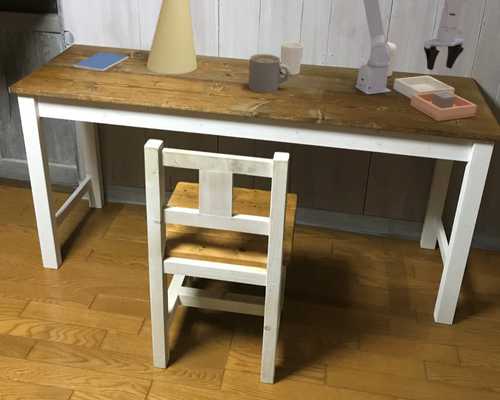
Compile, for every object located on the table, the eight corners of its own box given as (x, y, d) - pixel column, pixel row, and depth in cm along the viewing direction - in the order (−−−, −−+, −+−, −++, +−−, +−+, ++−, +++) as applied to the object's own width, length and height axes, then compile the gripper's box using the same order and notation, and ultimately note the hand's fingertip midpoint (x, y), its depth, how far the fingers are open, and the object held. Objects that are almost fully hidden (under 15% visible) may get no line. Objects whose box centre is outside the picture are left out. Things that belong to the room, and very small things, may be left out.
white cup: (277, 68, 209) (279, 41, 204) (298, 69, 210) (301, 42, 205) (280, 75, 202) (282, 47, 197) (302, 75, 203) (305, 48, 198)
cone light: (190, 76, 197) (189, -31, 179) (140, 71, 199) (134, -35, 181) (205, 56, 218) (205, -41, 201) (159, 52, 220) (155, -45, 202)
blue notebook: (100, 54, 216) (100, 51, 216) (130, 58, 213) (129, 55, 213) (72, 68, 200) (71, 64, 200) (103, 73, 197) (103, 69, 197)
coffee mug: (244, 90, 187) (246, 60, 182) (253, 81, 195) (254, 52, 190) (284, 95, 184) (286, 65, 179) (290, 86, 192) (293, 57, 187)
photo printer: (385, 72, 210) (390, 39, 204) (393, 76, 207) (399, 42, 201) (364, 76, 205) (369, 42, 199) (373, 80, 202) (378, 45, 196)
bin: (438, 121, 170) (440, 110, 169) (410, 104, 182) (412, 94, 180) (474, 116, 175) (477, 105, 174) (444, 100, 186) (447, 90, 185)
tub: (418, 102, 184) (420, 92, 182) (393, 88, 195) (394, 78, 193) (452, 98, 189) (454, 88, 187) (426, 85, 200) (428, 75, 198)
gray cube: (440, 110, 176) (443, 98, 174) (431, 105, 179) (434, 93, 177) (452, 108, 177) (455, 96, 175) (442, 103, 181) (445, 92, 179)
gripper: (437, 30, 173) (428, 73, 180) (475, 28, 178) (465, 70, 185) (423, 25, 179) (415, 67, 185) (460, 23, 183) (451, 64, 190)
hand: (439, 68), depth 185 cm, fingers open, 7 cm apart
